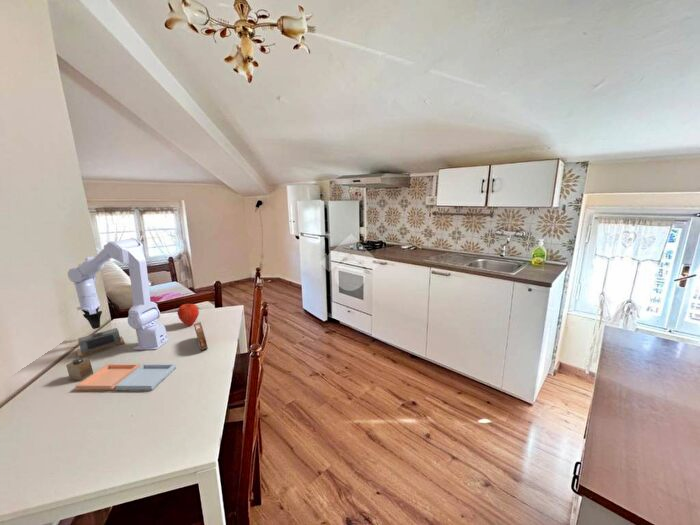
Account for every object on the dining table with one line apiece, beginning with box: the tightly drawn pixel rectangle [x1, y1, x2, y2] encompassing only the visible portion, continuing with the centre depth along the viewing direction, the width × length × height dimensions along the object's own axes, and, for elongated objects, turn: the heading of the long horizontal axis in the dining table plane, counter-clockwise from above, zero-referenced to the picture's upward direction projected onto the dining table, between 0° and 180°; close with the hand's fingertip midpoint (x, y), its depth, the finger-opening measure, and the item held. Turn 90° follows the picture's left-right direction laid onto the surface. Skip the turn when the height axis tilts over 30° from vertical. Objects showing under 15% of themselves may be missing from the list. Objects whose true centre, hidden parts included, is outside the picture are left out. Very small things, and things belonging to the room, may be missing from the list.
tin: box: [193, 321, 208, 351], centre depth 112 cm, size 15×3×8 cm, turn 34°
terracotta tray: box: [75, 363, 141, 392], centre depth 92 cm, size 12×12×2 cm
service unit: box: [76, 327, 126, 358], centre depth 112 cm, size 7×14×6 cm, turn 137°
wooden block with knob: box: [66, 357, 94, 382], centre depth 93 cm, size 4×4×7 cm
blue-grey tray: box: [115, 363, 177, 392], centre depth 92 cm, size 12×12×2 cm
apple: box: [177, 303, 200, 327], centre depth 130 cm, size 9×8×11 cm
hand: (95, 325), depth 116 cm, fingers open, 7 cm apart
